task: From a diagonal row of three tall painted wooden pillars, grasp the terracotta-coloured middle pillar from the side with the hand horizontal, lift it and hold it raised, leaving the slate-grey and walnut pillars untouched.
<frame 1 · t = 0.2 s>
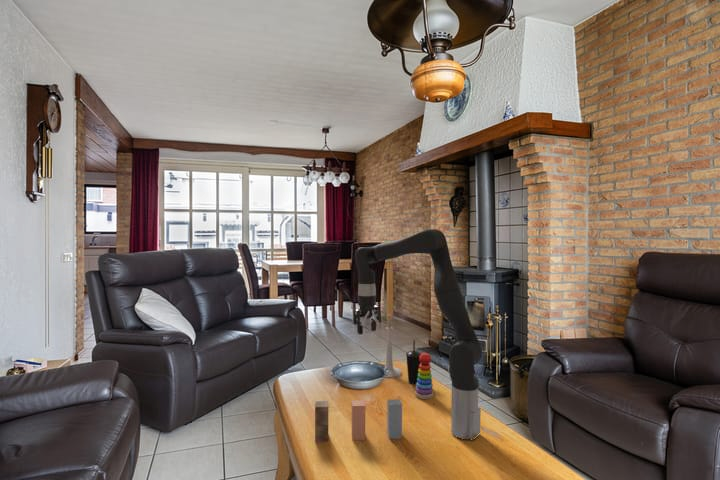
hand: (367, 332, 173), 29 cm above the table, tool pointing down, fingers open, 8 cm apart
drinking cup: (413, 382, 193), on the table
pillar slate: (394, 435, 144), on the table
pillar terracotta: (358, 436, 143), on the table
candlestick: (389, 373, 205), on the table
stacking toy: (424, 396, 177), on the table
pillar walnut: (321, 438, 142), on the table
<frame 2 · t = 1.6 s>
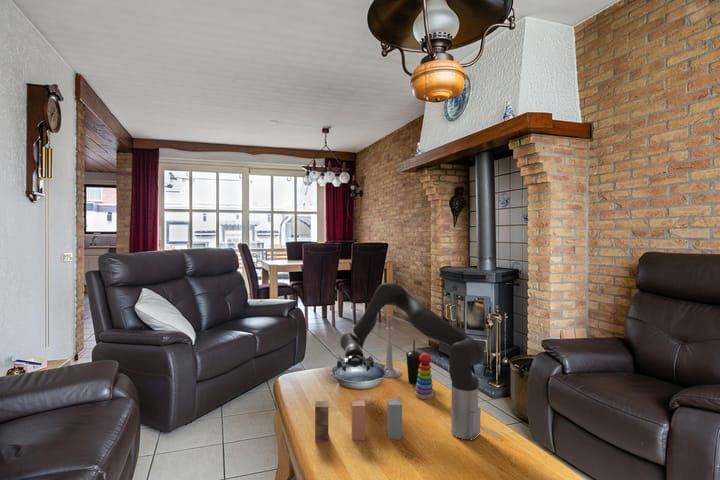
hand: (356, 368, 153), 20 cm above the table, tool horizontal, fingers open, 8 cm apart
nothing on the table moved.
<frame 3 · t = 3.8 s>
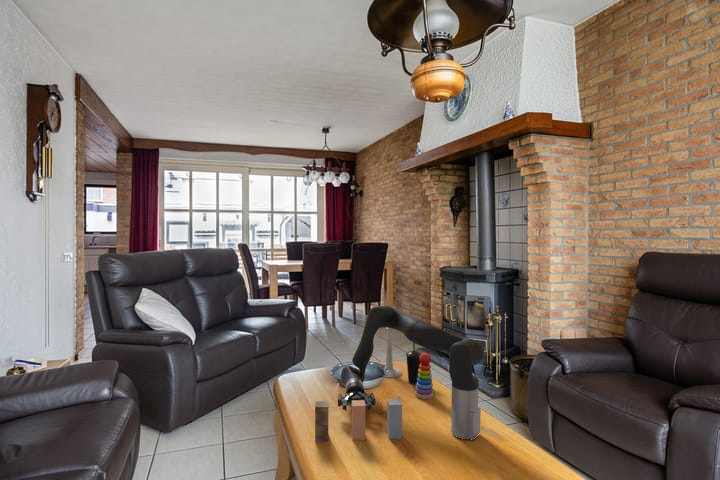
hand: (357, 407, 150), 7 cm above the table, tool horizontal, fingers open, 8 cm apart
nothing on the table moved.
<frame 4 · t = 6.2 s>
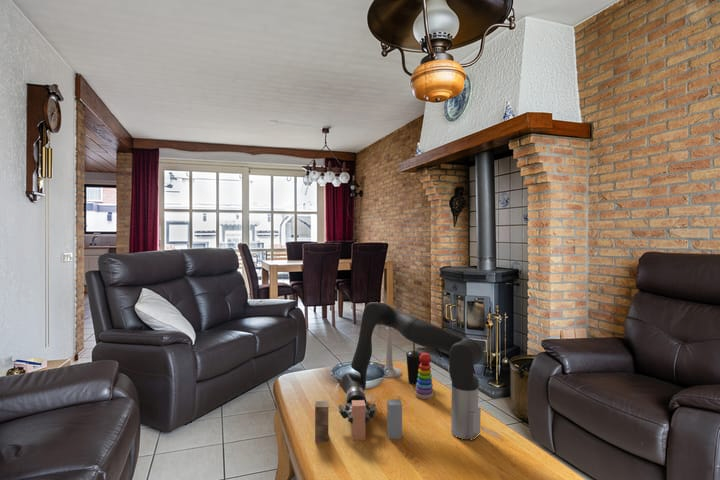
hand: (359, 420, 140), 7 cm above the table, tool horizontal, fingers closed on pillar terracotta, 4 cm apart
pillar terracotta: (358, 436, 143), on the table, touching gripper
everything else where it was.
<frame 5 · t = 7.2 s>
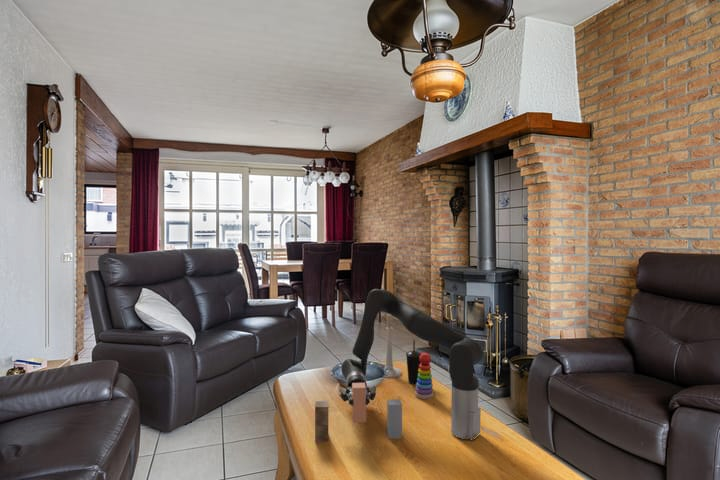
hand: (359, 402, 140), 13 cm above the table, tool horizontal, fingers closed on pillar terracotta, 4 cm apart
pillar terracotta: (359, 419, 142), point 6 cm above the table, touching gripper
everything else where it was.
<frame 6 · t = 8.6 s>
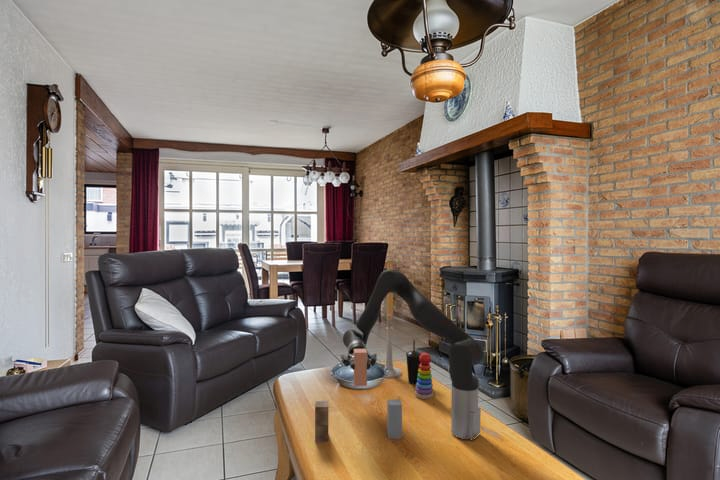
hand: (360, 366, 144), 24 cm above the table, tool horizontal, fingers closed on pillar terracotta, 4 cm apart
pillar terracotta: (360, 383, 147), point 17 cm above the table, touching gripper
everything else where it was.
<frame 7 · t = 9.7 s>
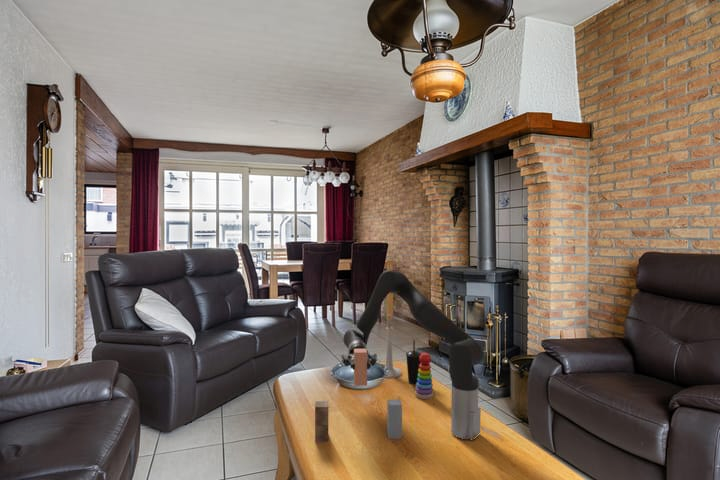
hand: (361, 366, 145), 24 cm above the table, tool horizontal, fingers closed on pillar terracotta, 4 cm apart
pillar terracotta: (360, 383, 148), point 17 cm above the table, touching gripper
everything else where it was.
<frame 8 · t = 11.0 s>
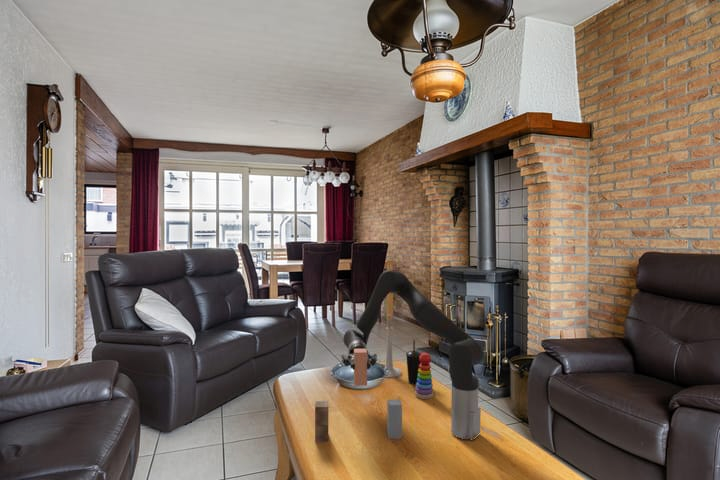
hand: (361, 366, 145), 24 cm above the table, tool horizontal, fingers closed on pillar terracotta, 4 cm apart
pillar terracotta: (360, 383, 148), point 17 cm above the table, touching gripper
everything else where it was.
at the end: pillar terracotta point 16.8 cm above the table; pillar slate moved 0.0 cm from its start; pillar walnut moved 0.0 cm from its start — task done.
